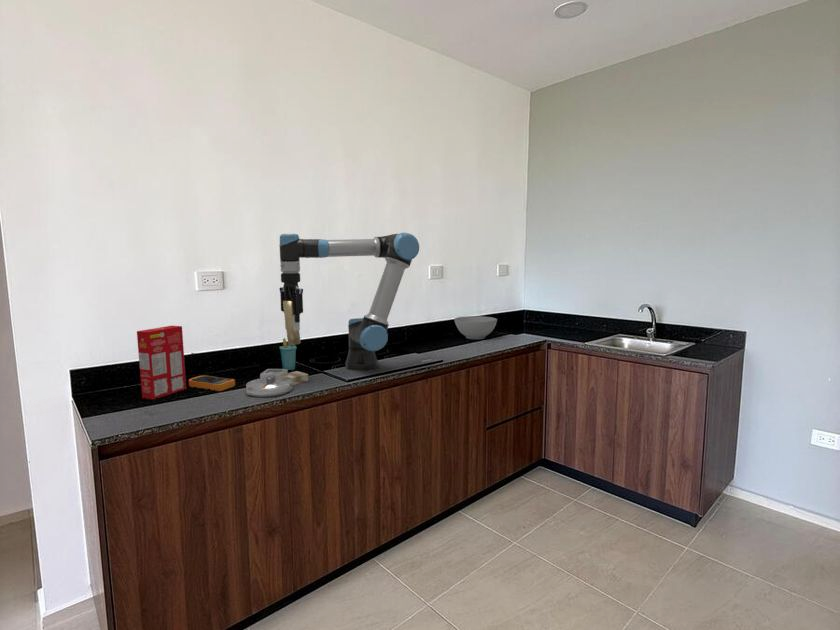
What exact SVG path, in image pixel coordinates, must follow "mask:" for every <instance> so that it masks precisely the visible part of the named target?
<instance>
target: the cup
mask: <svg viewBox="0 0 840 630" xmlns="http://www.w3.org/2000/svg"><path fill="white" fill-rule="evenodd" d="M297 347H298V346H296V345H288V340H287V338H286V337H284V338H283V339H282V346H279V350H280V357H281V364H282V369H288V370H291V371H293V370H294V371H295V369H296V355H297V353H296V352H297Z"/></svg>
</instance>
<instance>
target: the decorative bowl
mask: <svg viewBox="0 0 840 630" xmlns="http://www.w3.org/2000/svg"><path fill="white" fill-rule="evenodd" d="M453 321H454V323H455V326H456V328H457V329H458V331H459V333H460V334H462V335H463V336H465V338H466V339H467V340H483V339H485V338H486V336H488V335H490V334H491V333H492V331H493V330H494V329H495V327H496V325H497V322H498V318H495V317H492V316H484V315H483V316H482V315H481V316H480V315H479V316H477V315H475V316H474V315H470V316H467V315H466V316H458V317H457V316H456V317H455V318H454V320H453Z"/></svg>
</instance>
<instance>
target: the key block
mask: <svg viewBox="0 0 840 630" xmlns="http://www.w3.org/2000/svg"><path fill="white" fill-rule="evenodd" d="M286 378H290V379H291V380H292V382H293V386H295V385H298V384H299V385H300V384H303V383H306V382H309V374H308V373H305V372H302V371H298V370H296V371H295V370H294V371H291V372H288V377H286Z"/></svg>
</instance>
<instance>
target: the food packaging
mask: <svg viewBox="0 0 840 630" xmlns="http://www.w3.org/2000/svg"><path fill="white" fill-rule="evenodd" d="M183 337H184V336H183V326H182V325H167V326H162V327H156V328H155V327H154V328H149V329H142V330H137V331H136V339H137V350H138V351H137V353H138V363H139V364H138V365H139V375H140V376H139V377H140V387H141V398H142V399H144V398H146V399H145V400H150V399H151V400H152V401H154V400H156V398H157V399H159V398H163V397H166V396H169V395H172V394H176V393H179V392H181V390H182V391H184V389H185V390H187V379H186V366H185V352H184V349H185V347H184V338H183ZM178 391H179V392H178ZM153 399H154V400H153ZM151 400H150V401H151Z"/></svg>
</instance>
